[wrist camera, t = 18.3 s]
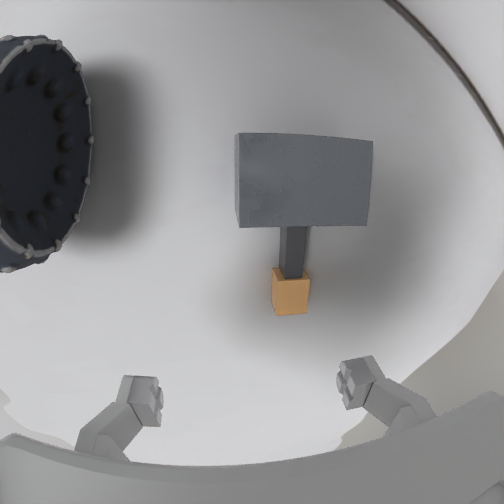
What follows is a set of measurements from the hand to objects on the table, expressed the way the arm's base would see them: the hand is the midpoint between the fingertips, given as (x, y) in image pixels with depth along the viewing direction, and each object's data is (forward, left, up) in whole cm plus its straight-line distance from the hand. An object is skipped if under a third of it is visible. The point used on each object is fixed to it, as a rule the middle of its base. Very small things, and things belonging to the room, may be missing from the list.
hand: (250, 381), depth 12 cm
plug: (0, +7, -22) cm, 23 cm away
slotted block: (-6, +7, -22) cm, 23 cm away
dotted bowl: (-11, -19, -22) cm, 31 cm away
